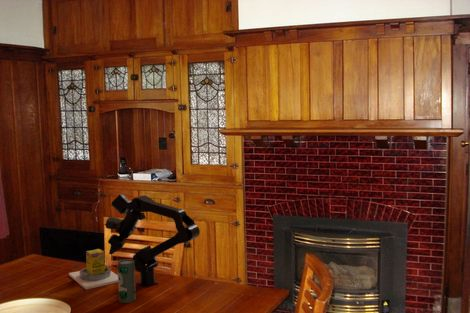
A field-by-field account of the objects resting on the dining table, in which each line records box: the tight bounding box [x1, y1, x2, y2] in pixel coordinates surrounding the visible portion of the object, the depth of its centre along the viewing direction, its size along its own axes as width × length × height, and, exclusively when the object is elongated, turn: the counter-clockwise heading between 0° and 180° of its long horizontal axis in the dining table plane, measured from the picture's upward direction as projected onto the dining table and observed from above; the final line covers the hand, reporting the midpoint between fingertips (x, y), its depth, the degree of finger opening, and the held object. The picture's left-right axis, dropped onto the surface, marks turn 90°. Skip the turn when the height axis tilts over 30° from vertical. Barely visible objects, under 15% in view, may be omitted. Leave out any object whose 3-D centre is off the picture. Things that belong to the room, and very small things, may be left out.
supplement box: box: [85, 248, 106, 274], centre depth 225 cm, size 6×6×11 cm
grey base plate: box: [68, 270, 118, 290], centre depth 225 cm, size 22×16×1 cm
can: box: [117, 259, 137, 304], centre depth 199 cm, size 6×6×15 cm
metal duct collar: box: [79, 265, 112, 281], centre depth 225 cm, size 12×12×2 cm
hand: (113, 248), depth 223 cm, fingers open, 9 cm apart
